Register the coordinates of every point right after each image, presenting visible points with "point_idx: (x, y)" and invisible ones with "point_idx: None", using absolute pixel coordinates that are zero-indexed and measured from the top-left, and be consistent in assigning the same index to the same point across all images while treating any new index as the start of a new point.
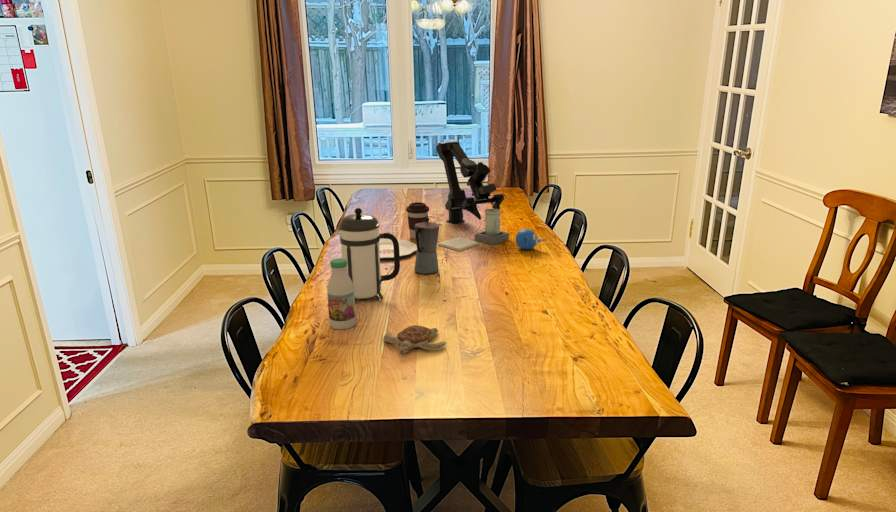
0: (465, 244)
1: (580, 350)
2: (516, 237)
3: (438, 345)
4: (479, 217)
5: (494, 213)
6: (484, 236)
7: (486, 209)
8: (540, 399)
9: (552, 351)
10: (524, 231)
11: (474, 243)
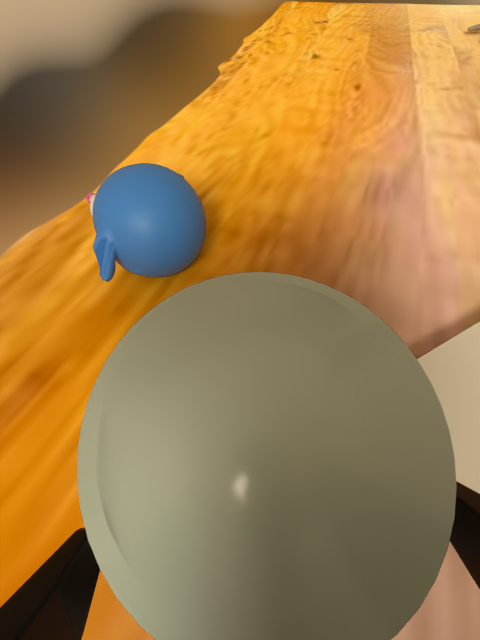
0: (465, 369)
1: (313, 25)
2: (200, 216)
3: (478, 24)
4: (475, 499)
5: (271, 283)
6: None
7: (390, 621)
8: (376, 7)
9: (342, 26)
10: (160, 168)
11: None
